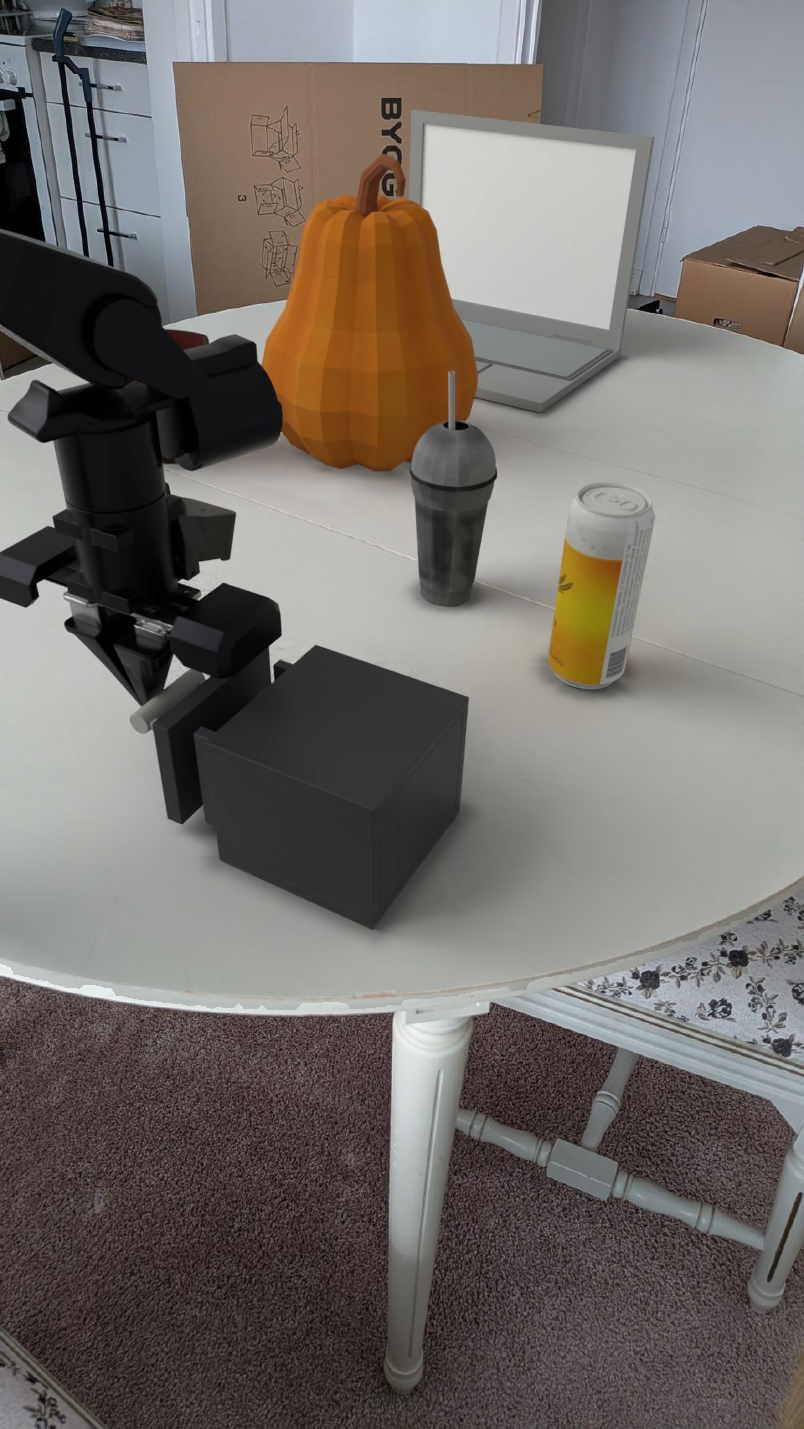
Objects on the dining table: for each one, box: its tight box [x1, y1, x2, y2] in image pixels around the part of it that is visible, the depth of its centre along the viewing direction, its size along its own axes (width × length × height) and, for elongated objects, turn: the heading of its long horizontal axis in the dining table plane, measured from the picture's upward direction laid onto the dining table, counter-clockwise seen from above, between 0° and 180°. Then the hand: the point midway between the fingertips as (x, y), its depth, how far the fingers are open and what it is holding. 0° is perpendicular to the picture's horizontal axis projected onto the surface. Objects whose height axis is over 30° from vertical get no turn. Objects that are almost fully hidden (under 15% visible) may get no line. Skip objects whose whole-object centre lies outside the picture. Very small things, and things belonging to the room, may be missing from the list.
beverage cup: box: [408, 371, 498, 607], centre depth 82 cm, size 7×7×20 cm
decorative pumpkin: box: [261, 153, 478, 473], centre depth 104 cm, size 24×24×30 cm
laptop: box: [408, 109, 655, 414], centre depth 130 cm, size 35×26×27 cm
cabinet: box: [205, 644, 470, 930], centre depth 61 cm, size 11×12×10 cm
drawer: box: [129, 646, 294, 828], centre depth 64 cm, size 14×10×8 cm
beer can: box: [547, 481, 656, 690], centre depth 75 cm, size 6×6×15 cm
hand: (150, 705), depth 67 cm, fingers closed
